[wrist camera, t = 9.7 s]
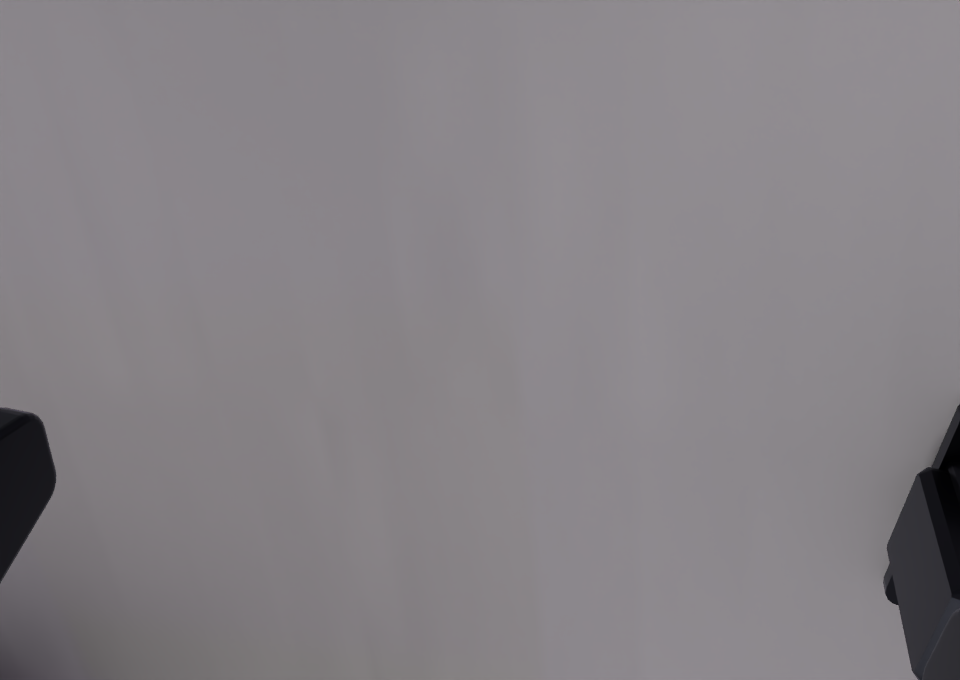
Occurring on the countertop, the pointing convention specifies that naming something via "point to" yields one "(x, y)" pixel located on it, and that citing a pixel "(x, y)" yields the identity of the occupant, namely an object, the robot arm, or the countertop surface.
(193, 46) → the countertop surface
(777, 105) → the countertop surface
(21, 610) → the countertop surface
